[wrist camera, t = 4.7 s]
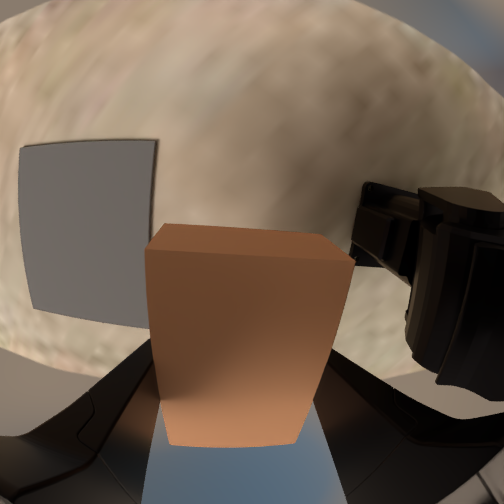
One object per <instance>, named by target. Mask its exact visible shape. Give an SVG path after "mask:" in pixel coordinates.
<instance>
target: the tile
mask: <svg viewBox="0 0 504 504" xmlns="http://www.w3.org/2000/svg"><path fill="white" fill-rule="evenodd" d="M144 255H145V279H146V295H147V308H148V319H149V329H150V338H151V346H152V354H153V360H154V364H155V371H156V377H157V383H158V389H159V395H160V402H161V408H162V412H163V417H164V422H165V426H166V431H167V435H168V439H169V443H170V445H180V446H193V447H257V446H272V445H283V444H292V443H295V442H296V439H297V437H298V435H299V433H300V430H301V428H302V426H303V424H304V421H305V419H306V416H307V414H308V412H309V409H310V407H311V404H312V402H313V398H314V395H315V392H316V390H317V387H318V385H319V382H320V379H321V376H322V374H323V371H324V368H325V365H326V363H327V361H328V358H329V355H330V352H331V349H332V346H333V343H334V339H335V336H336V333H337V330H338V326H339V323H340V320H341V316H342V313H343V309H344V306H345V302H346V298H347V294H348V291H349V287H350V283H351V279H352V275H353V270H354V266H355V262H356V261H355V260H354V259H352V258H351V257H350V256H349V255H347V254H346V253H345V252H343V251H342V250H341V249H340V248H338V247H337V246H336V245H334V244H333V243H332V242H331V241H329V240H328V239H327V238H325V237H324V236H323V235H321V234H312V233H301V232H288V231H276V230H262V229H249V228H234V227H219V226H203V225H186V224H167V223H164V225H163V226H162V227H161V228H160V230H159V231H158V232H157V233H156V235H155V236H154V237H153V238H152V240H151V241H150V242H149V244H148V245H147V246H146V247H145V249H144Z"/></svg>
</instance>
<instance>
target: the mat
mask: <svg viewBox="0 0 504 504" xmlns="http://www.w3.org/2000/svg"><path fill="white" fill-rule="evenodd" d="M155 148H156V141H89V142H72V143H59V144H48V145H39V146H31V147H23V148H20V153H19V171H18V204H19V223H20V235H21V244H22V252H23V259H24V266H25V272H26V277H27V282H28V287H29V292H30V297H31V301H32V305H33V309H37V310H42V311H46V312H51V313H55V314H60V315H65V316H70V317H75V318H80V319H85V320H91V321H97V322H103V323H109V324H116V325H123V326H130V327H137V328H145V329H149V319H148V308H147V295H146V279H145V255H144V249H145V247H146V246H147V245H148V244H149V242H150V211H151V193H152V179H153V167H154V157H155Z"/></svg>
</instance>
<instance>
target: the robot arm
mask: <svg viewBox="0 0 504 504" xmlns="http://www.w3.org/2000/svg"><path fill="white" fill-rule="evenodd" d="M369 186H371V190H370V191H369V190H368V187H369ZM351 240H352V244H351V249H350V253H349V256H350V257H351V258H352V259H354V257H356V256H357V258H356V260H355V261H356V262H355V266H366V267H380V268H386V269H387V270H389V271H390V272H392V273H393V274H394V275H396V276H397V277H398V278H400V279H401V280H402V281H404V282H405V283H406V284H408V285H409V286H410V287H411V293H410V299H409V305H408V310H406V313H405V320H406V327H405V338H406V342H407V343H408V345H409V347H410V349H411V351H412V352H413V353H412V358H413V359H414V360H415V361H416V362H417V363H418V364H420V365H421V366H422V367H424V368H426V369H427V370H429V371H431V372H434V373H436V374H438V376H437V378H436V380H435V382H436V384H437V385H452V386H457V387H461V388H465V389H467V390H470V391H472V392H474V393H476V394H478V395H480V396H481V397H483V398H485V399H487V400H489V401H504V203H503V202H501V201H500V200H499V199H498V198H496V197H495V196H494V195H493V194H492V193H490V192H487V191H482V190H477V189H472V188H466V187H425V188H418V194H415V193H411V192H408V191H404V190H400V189H397V188H393V187H389V186H385V185H381V184H377V183H373V182H365V183H364V185H363V189H362V194H361V200H360V206H359V207H358V209H357V214H356V219H355V224H354V229H353V233H352V238H351ZM313 402H314V405H315V408H316V411H317V414H318V417H319V420H320V422H321V425H322V429H323V432H324V434H325V437H326V440H327V443H328V446H329V449H330V452H331V455H332V458H333V461H334V464H335V467H336V470H337V473H338V476H339V479H340V482H341V485H342V488H343V491H344V494H345V496H346V500H347V503H348V504H504V412H503V413H499V414H493V415H489V416H484V417H478V418H473V419H456V418H452V417H449V416H447V415H445V414H443V413H441V412H439V411H436V410H434V409H432V408H430V407H428V406H426V405H423V404H422V403H420V402H417V401H416V400H414V399H412V398H410V397H408V396H407V395H405V394H403V393H402V392H400V391H398V390H397V389H395V388H394V389H393V387H391V386H390V385H388V384H387V383H385V382H384V381H382V380H380V379H379V378H377V377H376V376H374V375H372V374H371V373H369V372H368V371H366V370H365V369H363V368H361V367H360V366H358V365H357V364H355V363H354V362H352V361H351V360H349V359H347V358H346V357H344V356H343V355H341V354H340V353H338V352H337V351H335V350H334V349H331V352H330V355H329V358H328V361H327V363H326V365H325V368H324V371H323V374H322V376H321V379H320V382H319V385H318V387H317V390H316V392H315V395H314V398H313ZM159 404H160V395H159V389H158V383H157V377H156V371H155V364H154V360H153V354H152V346H151V338H150V339H148V340H147V341H146V342H145V343H143V344H142V345H141V346H140V347H139V348H138V349H136V350H135V351H134V352H133V353H132V354H130V355H129V356H128V357H127V358H126V359H125V360H123V361H122V362H121V363H120V364H119V365H117V366H116V367H115V368H114V369H113V370H112V371H110V372H109V373H108V374H107V375H106V376H105V377H103V378H102V379H101V380H100V381H99V382H97V383H96V384H95V385H94V386H93V387H92V388H90V389H89V392H86V393H84V394H83V395H82V396H81V397H80V398H78V399H77V400H76V401H75V402H73V403H72V404H71V405H70V406H68V407H67V408H65V409H64V410H62V411H61V412H60V413H58V414H57V415H55V416H53V417H52V418H51V419H49V420H47V421H46V422H44V423H43V424H41V425H39V426H38V427H36V428H35V429H33V430H32V431H30V432H28V433H26V434H23V435H20V436H0V504H141V500H142V493H143V487H144V481H145V475H146V469H147V464H148V458H149V453H150V448H151V442H152V438H153V433H154V428H155V423H156V418H157V413H158V409H159Z"/></svg>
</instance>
